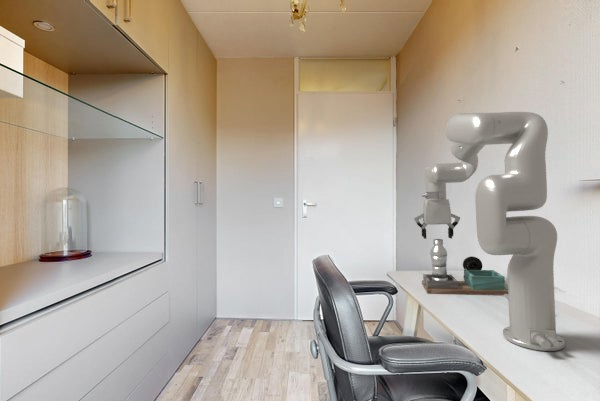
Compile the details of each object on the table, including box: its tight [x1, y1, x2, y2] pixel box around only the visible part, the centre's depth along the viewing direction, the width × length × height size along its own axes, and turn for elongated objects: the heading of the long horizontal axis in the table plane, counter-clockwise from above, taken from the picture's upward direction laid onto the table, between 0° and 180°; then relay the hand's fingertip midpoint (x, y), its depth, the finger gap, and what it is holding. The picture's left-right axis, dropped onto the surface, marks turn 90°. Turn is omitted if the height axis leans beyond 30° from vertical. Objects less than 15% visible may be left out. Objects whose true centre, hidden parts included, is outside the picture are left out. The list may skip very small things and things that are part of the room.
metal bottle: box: [429, 238, 448, 281], centre depth 126 cm, size 6×7×20 cm
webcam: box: [462, 256, 483, 271], centre depth 139 cm, size 8×8×10 cm
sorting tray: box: [421, 269, 508, 296], centre depth 124 cm, size 14×28×6 cm, turn 77°
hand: (437, 238), depth 127 cm, fingers open, 9 cm apart
